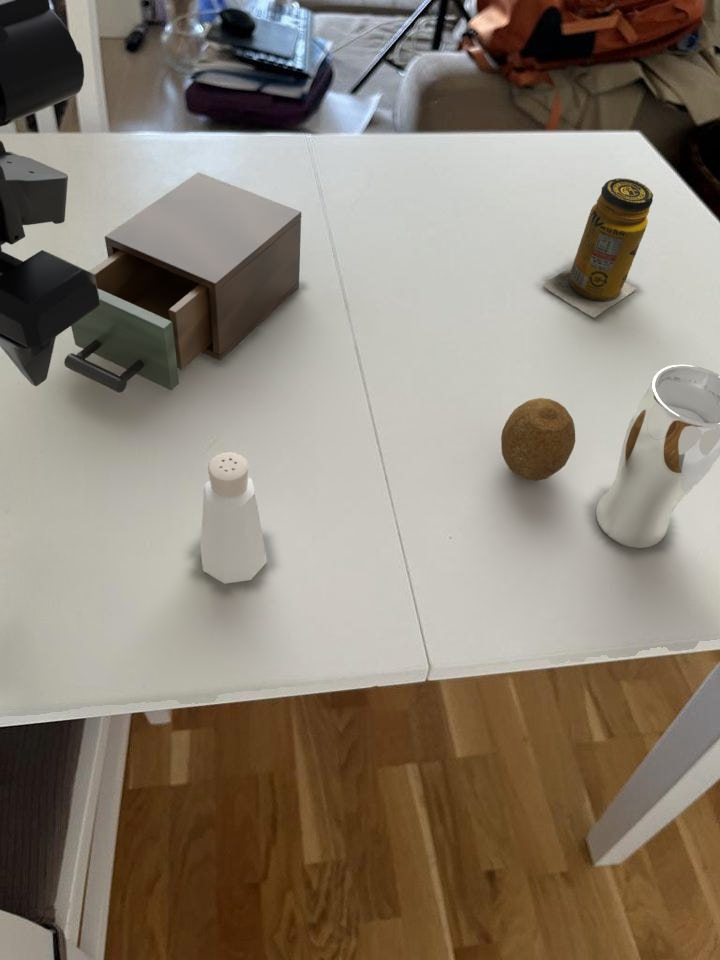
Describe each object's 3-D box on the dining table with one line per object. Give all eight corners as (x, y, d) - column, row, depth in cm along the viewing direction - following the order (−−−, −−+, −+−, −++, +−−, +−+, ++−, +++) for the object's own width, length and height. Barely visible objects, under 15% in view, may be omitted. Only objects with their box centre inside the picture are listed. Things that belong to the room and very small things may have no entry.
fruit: (519, 506, 72) (542, 442, 66) (479, 457, 75) (497, 393, 69) (575, 483, 74) (602, 420, 68) (533, 437, 78) (556, 373, 72)
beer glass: (677, 507, 73) (751, 382, 62) (662, 565, 69) (738, 441, 58) (601, 479, 75) (659, 351, 63) (581, 533, 70) (640, 406, 59)
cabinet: (220, 361, 81) (215, 283, 74) (117, 314, 84) (104, 236, 77) (299, 287, 90) (301, 211, 83) (203, 247, 93) (198, 171, 86)
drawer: (143, 416, 74) (133, 354, 69) (45, 368, 77) (27, 304, 72) (254, 315, 85) (252, 254, 79) (163, 276, 88) (156, 214, 82)
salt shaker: (258, 591, 64) (256, 501, 56) (190, 578, 64) (178, 487, 56) (274, 536, 68) (275, 444, 59) (210, 524, 68) (201, 431, 60)
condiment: (636, 290, 94) (674, 193, 85) (593, 319, 90) (629, 221, 81) (584, 260, 98) (616, 164, 89) (540, 287, 93) (569, 189, 84)
